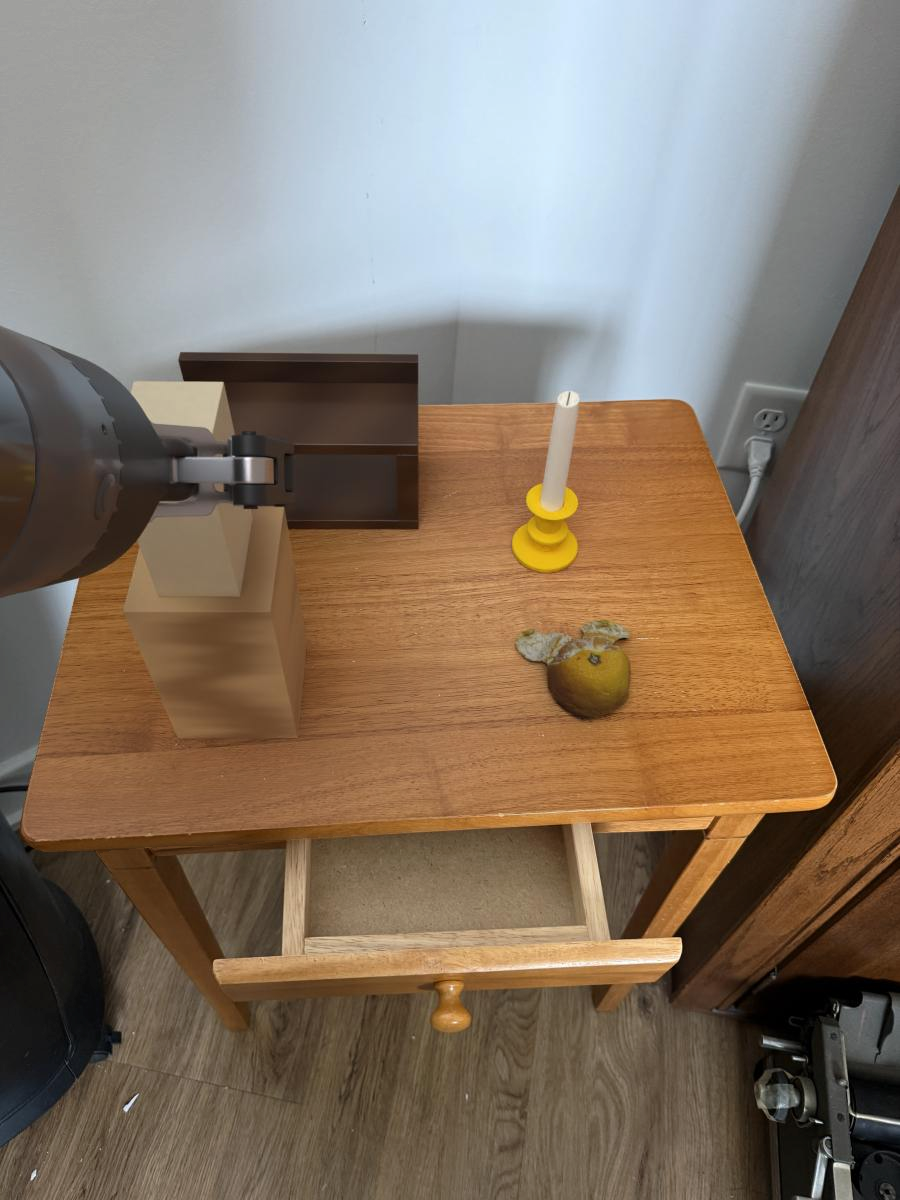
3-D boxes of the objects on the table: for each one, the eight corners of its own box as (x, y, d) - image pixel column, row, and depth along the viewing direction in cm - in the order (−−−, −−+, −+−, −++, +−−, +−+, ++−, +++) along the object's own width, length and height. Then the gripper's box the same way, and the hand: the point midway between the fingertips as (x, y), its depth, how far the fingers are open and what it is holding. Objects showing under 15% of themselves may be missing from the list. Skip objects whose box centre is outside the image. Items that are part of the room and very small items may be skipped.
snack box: (158, 597, 49) (107, 463, 41) (176, 517, 53) (133, 380, 45) (240, 597, 49) (206, 463, 41) (253, 517, 53) (223, 381, 45)
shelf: (192, 528, 71) (160, 421, 62) (207, 459, 76) (180, 351, 67) (418, 529, 72) (418, 423, 63) (418, 460, 76) (418, 354, 68)
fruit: (618, 618, 66) (627, 587, 64) (657, 712, 62) (668, 683, 59) (511, 635, 65) (515, 605, 62) (542, 733, 60) (548, 705, 57)
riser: (177, 739, 59) (122, 611, 48) (196, 641, 64) (149, 505, 53) (298, 738, 60) (270, 611, 49) (307, 641, 64) (284, 505, 53)
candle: (539, 583, 68) (565, 428, 56) (498, 541, 71) (514, 384, 59) (590, 554, 70) (626, 398, 58) (548, 515, 73) (574, 357, 61)
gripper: (235, 328, 25) (309, 392, 41) (-294, 321, 24) (-7, 389, 40) (240, 597, 25) (311, 556, 42) (-269, 596, 25) (1, 555, 41)
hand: (154, 474), depth 41 cm, fingers open, 8 cm apart
